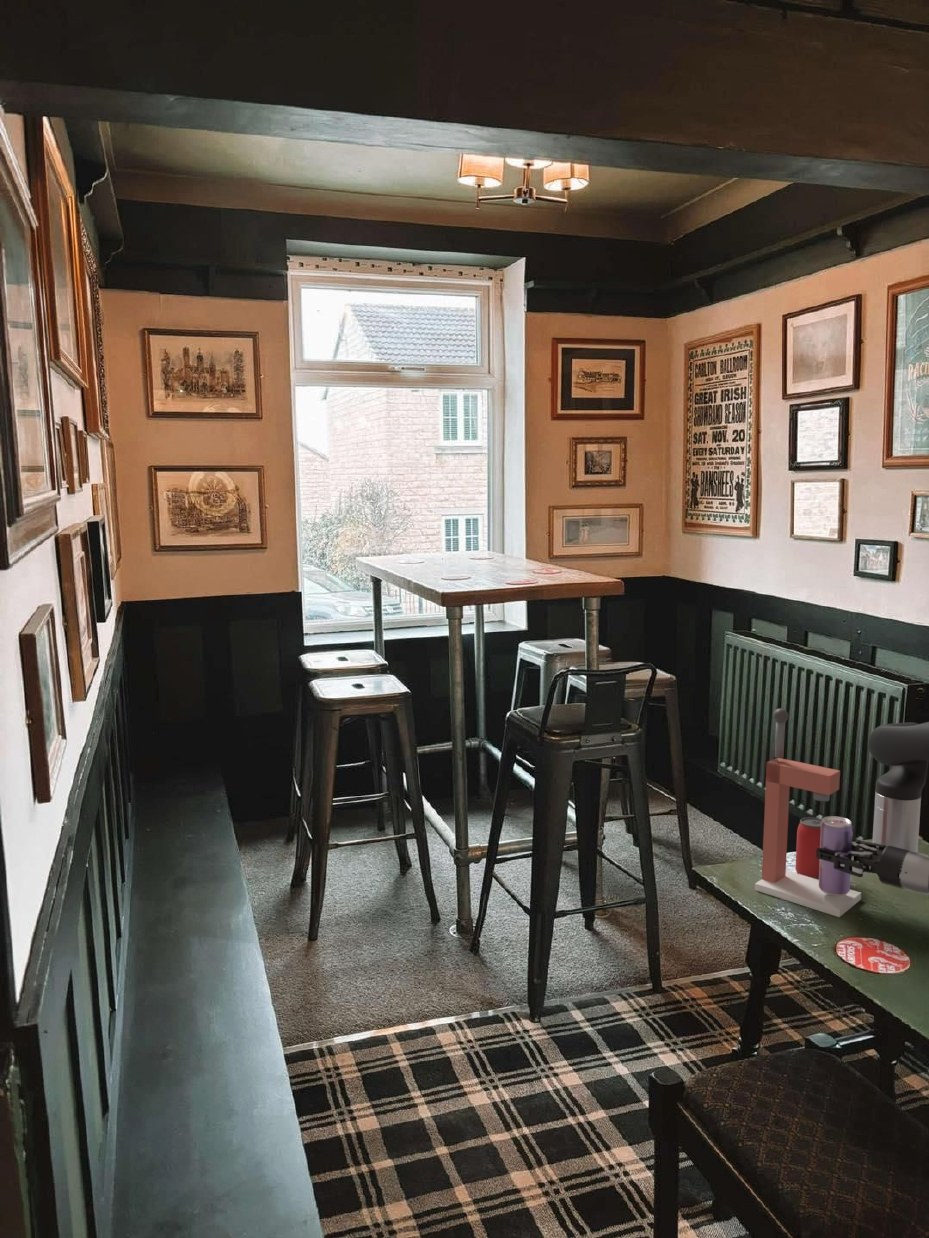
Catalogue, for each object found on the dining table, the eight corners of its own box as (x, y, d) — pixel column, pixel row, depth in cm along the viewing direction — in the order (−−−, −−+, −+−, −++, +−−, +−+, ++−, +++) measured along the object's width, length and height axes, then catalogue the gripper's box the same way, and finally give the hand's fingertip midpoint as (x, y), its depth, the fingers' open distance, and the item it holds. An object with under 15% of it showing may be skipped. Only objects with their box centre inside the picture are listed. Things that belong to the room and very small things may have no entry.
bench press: (778, 874, 201) (785, 702, 195) (860, 899, 188) (871, 717, 183) (754, 889, 193) (762, 712, 188) (839, 917, 181) (849, 727, 175)
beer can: (832, 874, 201) (835, 822, 199) (816, 882, 197) (818, 829, 195) (806, 864, 206) (808, 814, 204) (789, 872, 202) (791, 820, 200)
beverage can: (852, 897, 183) (855, 826, 181) (821, 895, 184) (824, 825, 182) (846, 885, 189) (849, 816, 187) (816, 883, 190) (818, 814, 188)
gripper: (923, 841, 180) (838, 821, 192) (897, 863, 170) (809, 840, 181) (920, 877, 181) (836, 854, 193) (895, 900, 171) (807, 875, 182)
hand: (823, 847), depth 187 cm, fingers closed on beverage can, 6 cm apart
